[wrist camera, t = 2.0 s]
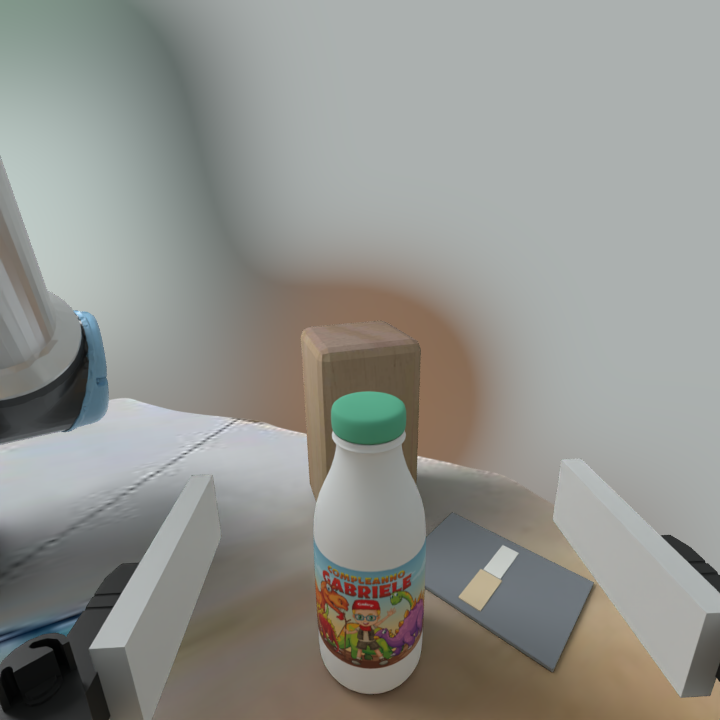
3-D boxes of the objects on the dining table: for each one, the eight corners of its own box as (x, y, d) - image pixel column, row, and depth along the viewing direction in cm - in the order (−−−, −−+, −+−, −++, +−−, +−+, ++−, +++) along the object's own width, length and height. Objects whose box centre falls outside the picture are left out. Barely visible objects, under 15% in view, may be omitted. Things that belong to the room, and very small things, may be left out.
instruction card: (395, 568, 39) (395, 565, 38) (452, 514, 46) (452, 511, 45) (552, 672, 30) (553, 668, 29) (593, 585, 37) (593, 581, 36)
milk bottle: (315, 608, 35) (301, 385, 28) (405, 594, 36) (411, 376, 30) (324, 709, 28) (308, 440, 21) (436, 687, 29) (452, 426, 22)
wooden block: (385, 470, 54) (386, 318, 48) (418, 520, 45) (425, 340, 38) (308, 485, 51) (298, 325, 45) (327, 542, 42) (318, 351, 36)
